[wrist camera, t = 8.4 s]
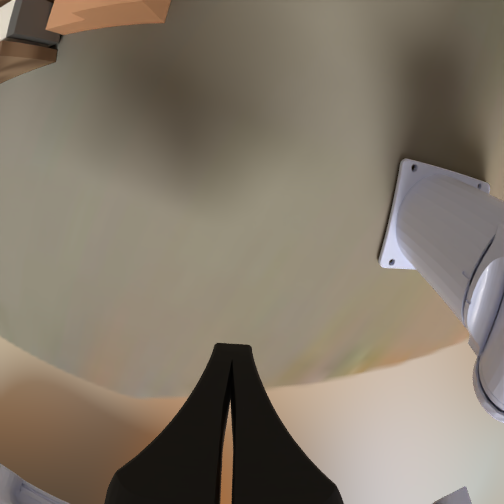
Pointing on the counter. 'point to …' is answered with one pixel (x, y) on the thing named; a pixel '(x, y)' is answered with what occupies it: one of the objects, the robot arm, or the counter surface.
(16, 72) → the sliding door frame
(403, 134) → the counter surface
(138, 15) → the peach two-level step
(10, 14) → the sliding door
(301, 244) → the counter surface
